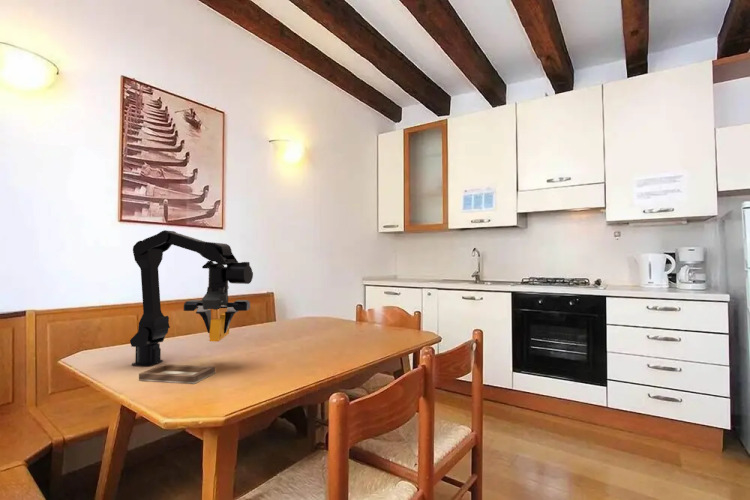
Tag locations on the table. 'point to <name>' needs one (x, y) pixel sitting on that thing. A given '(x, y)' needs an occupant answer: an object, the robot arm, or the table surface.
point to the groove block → (177, 373)
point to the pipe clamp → (218, 329)
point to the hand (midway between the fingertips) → (217, 333)
